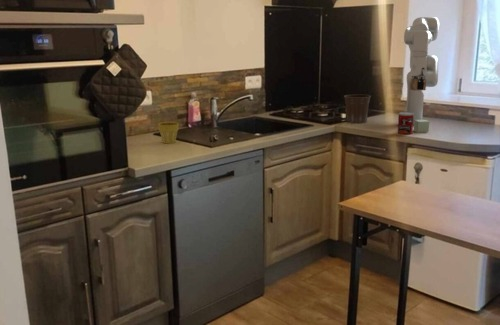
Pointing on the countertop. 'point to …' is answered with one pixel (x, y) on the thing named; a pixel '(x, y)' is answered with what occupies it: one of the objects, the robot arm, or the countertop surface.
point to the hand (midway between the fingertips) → (417, 88)
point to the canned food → (405, 123)
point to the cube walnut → (416, 84)
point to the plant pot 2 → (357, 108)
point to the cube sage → (421, 125)
